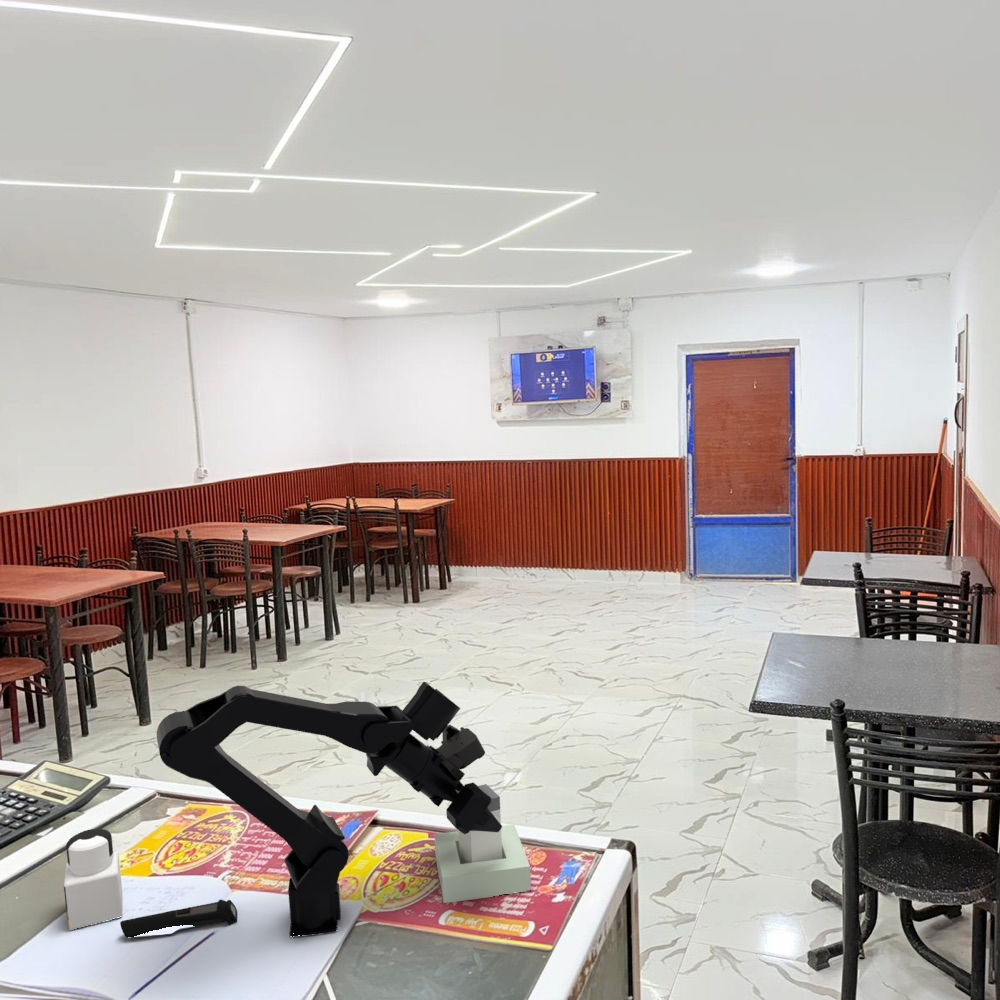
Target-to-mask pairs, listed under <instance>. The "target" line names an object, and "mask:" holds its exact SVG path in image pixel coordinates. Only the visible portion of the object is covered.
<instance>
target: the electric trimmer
mask: <svg viewBox="0 0 1000 1000" xmlns="http://www.w3.org/2000/svg"><path fill="white" fill-rule="evenodd" d="M222 923H227V925H229V926H232V925H233V924H234V923H238V909H237V907H236V906H235V904H234V903H233V902H232V900H230V899H228V900H224V899H218V901H216V902H210V903H205V904H200V905H196V906H189V907H185V908H179V909H176V910H175V909H174V910H169V911H164V912H160V913H154V914H150V915H144V916H139V917H135V918H129V919H125V920H122V921H120V922H119V924H120V929H121V931H122V934H123V935H124V937H125V938H126V937H127V938H126V939H129V938H128V937H134V936H137V935H140V934H143V933H144V934H145V933H146V932H147V933H148V932H149V931H153V930H159V929H162V928H166V927H172V926H180V925H182V926H183V925H193V926H195V927H194V928H198V927H204V926H210V925H216V924H222ZM231 924H232V925H231Z"/></svg>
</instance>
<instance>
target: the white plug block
mask: <svg viewBox="0 0 1000 1000" xmlns="http://www.w3.org/2000/svg"><path fill="white" fill-rule="evenodd" d="M478 786H479V787H480V788H481V789H482V790H483V791H485V792H486V793H487V794H488V795H489V796H490V797H491V803H490V804H489V806H488V809H489V810H490V812H491V813H492V814H493V815H494V817H495V818H496V819H497V820H498V822H499V823H500V824H501V825H502V821H501V819H502V817H501V815H502V814H501V798H500V797H501V796H500V795H499V794H498V793H496V791H494V790H493V788H491V787H490V786H489V785H488V784H487V783H485V784H484V783H483V784H480V785H478ZM458 792H460V791H458ZM457 830H458V829H457ZM458 831H459V830H458ZM459 852H460V864H466V863H474V862H482V861H490V860H498V859H502V838H501V829H500V831H499V832H486V831H469V833H467V834H463V833H462V832H460V831H459Z"/></svg>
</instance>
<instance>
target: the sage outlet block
mask: <svg viewBox="0 0 1000 1000" xmlns="http://www.w3.org/2000/svg"><path fill="white" fill-rule="evenodd" d="M433 835H434V849H435V854H434V856H435V862H436V867H437V873H438V874H437V875H438V879H439V884H440V890H441V896H442V901H443V904H449V903H456V902H464V901H470V900H478V899H485V898H486V899H487V898H494V897H493V896H495V897H500V896H499V895H502V894H510V893H514V892H522V891H526V890H531V891H532V887H531V886H532V885H531V884H532V883H531V882H532V881H531V865H530V863H529V860H528V857H527V855H526V851H525V849H524V846H523V844H522V841H521V838H520V836H519V834H518V830H517V827H516V826H515V824H507V825H502V828H501V838H502V859H498V860H490V861H482V862H474V863H466V864H460V852H459V831H457V830H455V831H449V832H448V831H447V832H439V833H434V834H433ZM510 895H511V894H510ZM502 896H503V895H502Z"/></svg>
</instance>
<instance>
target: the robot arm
mask: <svg viewBox="0 0 1000 1000" xmlns="http://www.w3.org/2000/svg"><path fill="white" fill-rule="evenodd" d="M460 710H461V707H460V706H458V704H456V703H455V702H454V701H453V700H451V699H450V698H449V697H447V696H446V695H445V694H443V693H442V692H441V691H440V690H439V689H437V688H434V687H432V686H431V685H430V684H429V683H427V682H426V681H423V682H422V683H421V684H420V686H419V687H418V688H417V690H416V692H415V694H414V695H413V696H412V698H411V699H410V700H409V702H408V703H407V704H406V705H405V707H404V708H403V709H402V708H400V707H399V706H398V705H381V706H380V705H379V706H377V705H376V704H374V703H372V702H370V701H349V700H348V701H342V702H337V703H324V702H319V701H313V700H310V699H304V698H299V697H294V696H290V695H288V696H287V695H284V694H279V693H278V694H277V693H272V692H267V691H262V690H257V689H252V688H249V687H247V686H246V685H235V686H232V687H230V688H229V689H227V690H226V691H224V692H222V693H220V694H219V695H216V696H213V697H211V698H208V699H205V700H202V701H201V702H198V703H196V704H195V705H193V706H191V707H189V708H187V709H186V710H182V711H176V712H172V713H170V714H168V715H166V716H165V717H164V718H163V719H162V720H161V721H160V723H159V724H158V727H157V729H156V741H157V748H158V752H159V755H160V760H161V761H162V763H163V764H165V766H166V767H168V768H169V769H171V770H173V771H176V772H178V773H179V774H181V775H183V776H186V777H187V778H189V779H194V780H198V781H202V782H206V783H207V784H208V783H209V784H210V785H212V786H213V788H216V790H218V791H219V792H221V793H222V794H223V795H225V796H226V797H227V798H229V799H230V800H231V801H233V802H234V803H236V805H238V807H240V808H242V810H245V811H246V812H247V813H249V814H250V815H251V816H252V817H254V818H255V819H256V820H258V821H259V822H260V823H262V825H265V826H266V827H267V828H269V829H270V830H271V831H272V832H274V833H275V834H276V835H277V836H279V837H280V838H281V839H283V840H284V841H285V842H286V843H287V845H288V846H289V848H290V849H291V850H290V852H289V853H288V854H287V856H285V858H284V860H283V861H284V864H285V867H286V868H287V872H288V873H289V876H290V878H289V879H288V889H287V891H288V904H289V919H290V923H289V924H290V926H289V937H290V936H292V937H293V936H298V935H300V936H301V937H303V936H302V935H308V936H313V935H312V934H315V935H320V934H319V933H323V934H330V933H335V932H337V931H338V921H340V920H341V916H342V915H341V913H342V912H341V911H342V910H341V909H342V908H341V893H340V889H341V888H340V884H339V883H338V881H339V877H340V875H341V872H342V871H343V870H344V868H345V867H346V865H347V863H348V860H349V848H348V846H347V844H346V843H345V841H344V840H345V838H346V837H345V835H344V834H343V832H342V830H341V828H340V826H339V825H338V823H337V821H336V820H335V818H334V817H332V816H329V815H326V814H325V813H323V811H322V810H321V809H320V808H319V807H318V805H316V804H313V806H312V808H311V809H310V810H309V811H306V810H301V809H299V808H297V807H296V806H295V805H293V804H292V803H291V802H289V800H287V799H285V798H284V797H283V796H282V795H280V794H279V793H278V792H277V791H275V790H274V789H272V788H271V787H270V786H269V785H267V784H266V783H265V782H264V781H262V779H260V778H259V777H257V776H256V775H255V774H253V773H252V772H251V771H250V770H249V769H247V768H246V767H245V766H243V765H242V764H241V763H239V762H238V761H237V760H235V759H234V758H233V757H232V756H230V755H229V754H228V753H227V752H226V751H225V750H224V749H223V748H222V747H221V745H220V744H221V743H222V742H224V740H226V739H227V738H228V737H229V736H230V735H231V734H232V733H234V732H235V730H237V729H238V728H240V727H241V726H242V725H244V724H246V723H250V724H256V725H262V726H268V727H272V728H280V729H285V730H290V731H296V732H302V733H306V734H313V735H318V736H323V737H327V738H330V739H332V740H334V741H336V742H337V743H340V744H342V745H343V746H346V747H348V748H351V749H353V750H356V751H358V752H361V753H364V754H365V755H366V759H367V760H366V767H367V769H368V770H369V771H370V773H371V774H372V776H373V777H377V776H378V775H379V774H380V773H381V772H382V771H383V769H384V768H385V767H386V768H387V769H388V770H390V771H392V772H393V773H394V774H396V775H397V776H399V777H400V778H401V779H402V780H404V781H405V782H407V783H408V784H409V785H410V786H411V787H412V788H413V790H414V791H416V792H417V793H420V792H421V793H422V795H425V796H426V797H427V798H428V799H429V800H430V801H431V802H432V804H434V805H435V806H437V807H440V805H441V804H442V803H443V802H444V801H448V802H451V803H450V804H449V805H448V807H447V808H446V811H445V812H446V819H447V820H448V822H450V824H451V825H452V826H453V827H454V828H455V829H456V830H459V831H460V832H462V833H463V834H467V833H469V831H486V832H499V831H500V829H501V828H502V826H503V825H502V823H501V824H500V823H499V822H498V820H497V819H496V818H495V817H494V815H493V814H492V813H491V812H490V810H489V809H488V806H489V804H490V803H491V797H490V796H489V795H488V794H487V793H486V792H485V791H483V790H482V789H481V788H480V787H479V786H480V785H477V784H476V783H475V782H470V783H465V784H463V783H462V782H461V781H462V779H463V777H464V776H465V772H464V771H462V770H464V769H465V768H467V767H468V766H470V765H471V764H473V763H475V761H477V760H478V759H481V758H483V757H484V756H485V755H486V751H485V749H484V747H483V745H482V743H481V742H480V740H479V739H480V738H479V737H478V736H477V734H475V733H474V732H473V731H472V730H471V729H469V728H467V727H466V728H464V727H463V726H461V727H460V729H458V728H456V727H455V726H453V725H451V722H452V720H453V719H454V718H455V716H456V715H457V714H458V713H459V712H460ZM412 731H413V732H415V733H416V734H417V735H418V736H420V737H421V738H422V739H424V740H425V741H429V739H430V740H431V741H433V742H434V741H435V740H438V739H439V737H441V735H442V741H440V744H441V745H440V746H439V747H437V748H435V747H434V746H432V745H431V744H430V745H428V744H425V743H423V742H422V741H421V740H419V739H418V738H417V737H415V736H414V735H413V734H412ZM458 791H460V792H458ZM337 920H338V921H337ZM336 930H337V931H336ZM329 932H330V933H329ZM293 933H294V934H293ZM293 938H294V937H293Z"/></svg>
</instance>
